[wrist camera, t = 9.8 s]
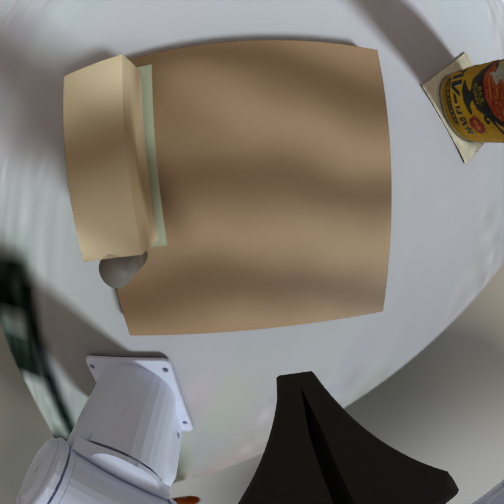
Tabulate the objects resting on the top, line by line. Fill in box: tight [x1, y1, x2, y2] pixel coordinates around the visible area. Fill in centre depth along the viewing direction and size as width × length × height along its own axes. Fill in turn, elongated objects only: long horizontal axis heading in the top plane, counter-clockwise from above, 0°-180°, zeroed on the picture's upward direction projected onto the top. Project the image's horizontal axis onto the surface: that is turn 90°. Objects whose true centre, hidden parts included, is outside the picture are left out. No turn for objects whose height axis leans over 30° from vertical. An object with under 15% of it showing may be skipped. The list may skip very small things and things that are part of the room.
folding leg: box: [63, 54, 158, 288], centre depth 13 cm, size 12×4×3 cm, turn 6°
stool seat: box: [116, 40, 391, 335], centre depth 16 cm, size 18×18×2 cm
